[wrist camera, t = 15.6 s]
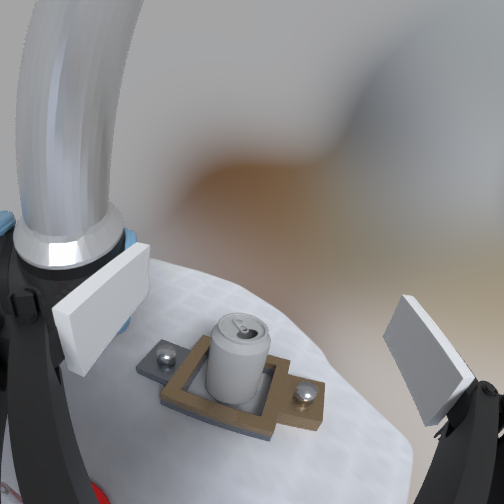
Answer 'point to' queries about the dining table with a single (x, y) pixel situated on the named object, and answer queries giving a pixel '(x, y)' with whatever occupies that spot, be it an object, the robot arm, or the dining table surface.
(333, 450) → the dining table surface
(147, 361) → the chain end lower
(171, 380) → the chain end upper
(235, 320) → the can
